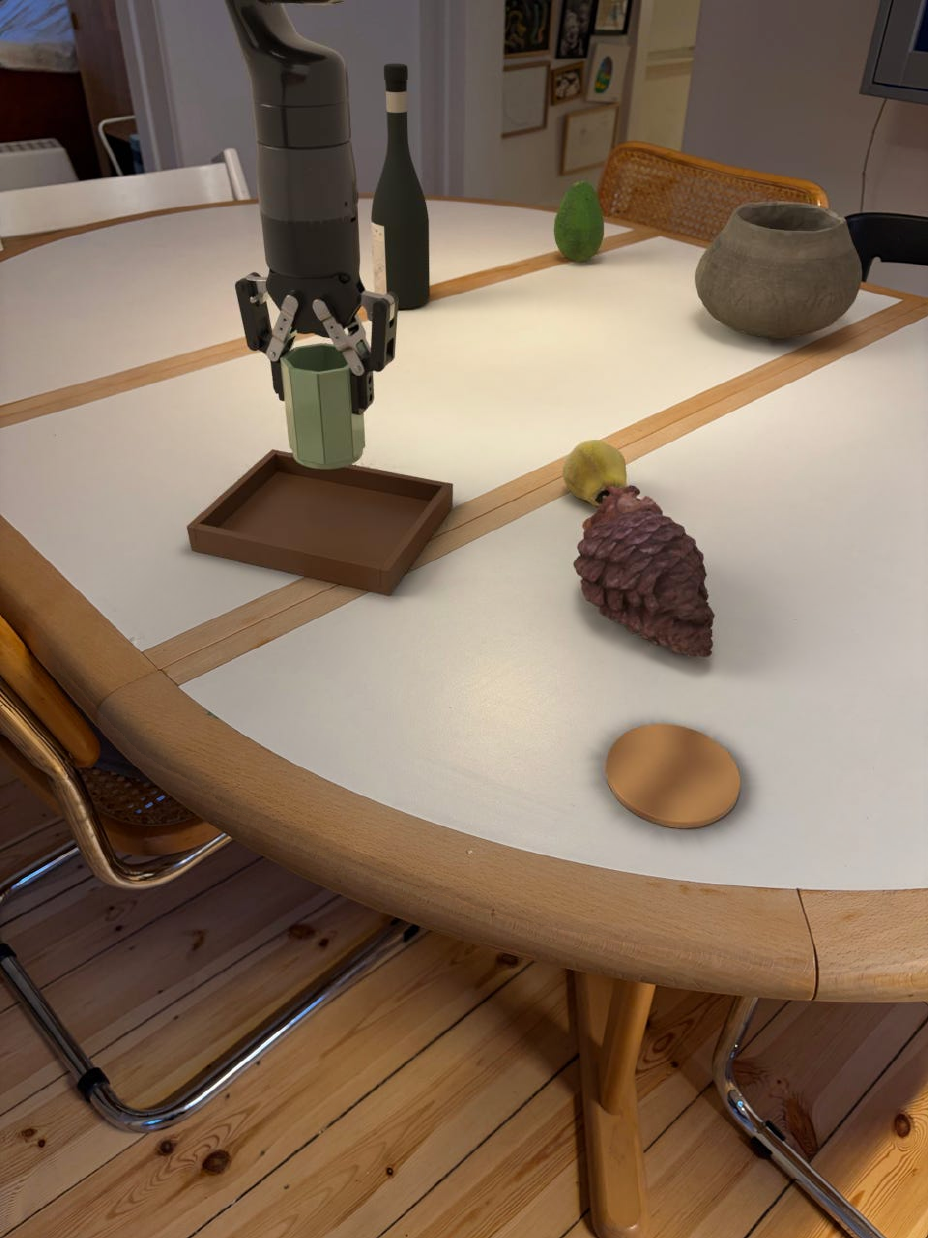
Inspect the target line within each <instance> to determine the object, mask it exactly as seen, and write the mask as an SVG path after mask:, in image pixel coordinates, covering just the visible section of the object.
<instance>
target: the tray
mask: <svg viewBox="0 0 928 1238" xmlns="http://www.w3.org/2000/svg"><path fill="white" fill-rule="evenodd" d="M453 507H454V483H452V482H447V481H446V482H445V481H440V480H435V479H430V478H425V477H419V476H414V475H410V474H409V475H408V474H403V473H398V472H393V471H387V470H382V469H377V468H372V467H368V466H362V465H356V464H351V465H348V466H345V467H341V468H336V469H314V468H309V467H306V466H303V465H301V464H299V463H298V462H297V461H296V460H295V459H294V457H293V454H292V452H288V451H283V450H278V449H274V448H272V449H270V450H269V451H268V452H267V453H266V454H265V455H264V456H263V457H262V458H260V460H259V461H257V462H256V463H255V464H254V465H252V467H251V468H249V470H248V471H246V472H245V473H243V475H242V476H241V477H240V478H239V479H237V480H236V481H235V482H234V483H232V485H230V486H229V488H227V489H226V490H225V491H224V492H223V493H222V494H221V495H219V496H218V497H217V498H216V499H215V500H214V501H212V503H211V504H210V505H208V506H207V507H206V508H205V509H204V510H202V512H201V513H199V514H198V516H196V517H195V518H194V519H193V520H192V521H190V523H189V524H188V525H186V530H187V536H188V540H189V545H190V550H191V551H193V552H197V553H202V554H206V555H210V556H214V557H219V558H224V559H228V560H232V561H237V562H241V563H246V564H249V565H255V566H258V567H263V568H268V569H272V570H277V571H281V572H285V573H289V574H294V575H298V576H303V577H307V578H311V579H316V580H319V581H325V582H327V583H332V584H337V585H341V586H347V587H351V588H355V589H360V590H364V591H368V592H371V593H377V594H381V595H384V596H385V595H386V596H391V595H392V593H393V592H394V590H395V589H396V588H397V586H398V585H399V583H400V582H401V581H402V579H403V578H404V576H405V575H406V573H407V572H408V571H409V569H410V568H411V567H412V565H413V564H414V562H415V561H416V559H417V558H418V557H419V555H420V554H421V552H422V551H423V549H424V548H425V546H426V545H427V544H428V542H429V541H430V539H431V538H432V537H433V535H434V534H435V532H436V531H437V529H438V528H439V527H440V526H441V524H442V522H443V521H444V520H445V518H446V517H447V516H448V515H449V513H450V511H451V510H452V509H453Z"/></svg>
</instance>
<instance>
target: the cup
mask: <svg viewBox="0 0 928 1238" xmlns="http://www.w3.org/2000/svg"><path fill="white" fill-rule="evenodd" d="M280 361H281V371H282V380H283V390H284V399H285V401H284V408H285V419H286V426H287V435H288V445H289V449H290V450H291V453H292V454H293V457H294V459H295V460H296V461H297V462H298V463H299V464H301V465H303V466H306V467H309V468H314V469H336V468H341V467H345V466H348V465H351V464H352V465H354V463H356V462H358V461H359V460H360V459H361V458H362V456H363V455H364V450H365V448H366V433H365V414H364V413H365V412H364V413H363V414H362V415H356V414H353V413H352V406H351V389H350V375H351V374H352V373H353V372H352V371H351V369H350V367H349V365H348V363H347V361H346V359H345V357H344V355H343V354H342V353H341V352H338V351H337V349H336V347H335V345H334V344H332V343H326V342H324V343H323V342H320V343H313V344H307V345H300V346H295V347H292V349H291V350H290V351H289V352H288V353H286V354H285V355H284V356H282V357H281V359H280Z"/></svg>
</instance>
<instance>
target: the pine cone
mask: <svg viewBox="0 0 928 1238" xmlns="http://www.w3.org/2000/svg"><path fill="white" fill-rule="evenodd" d="M605 489H606V490H608V491H609V493H610V495H609V496H608V497H605V498H604V499H603V504H602V505H600V506H599V505H597V506H598V507H597V509H596V511H595V512H594V514H593V515H591V516H589V517H587V518H586V519H585V520H584V521H583V522H582V525H581V527H582V529H583V535H582V536H583V537H582V539H581V540H580V541H579V542H578V543H577V546H576V549H577V551H578V554H579V555H578V556H577V557H576V559H575V560H574V561H573V563H572V565H573V568H574V569H575V572H576V574H577V575H578V576H579V577H580V578H581V579H580V581H579V583H580V585H581V586H580V590H581V592H582V595H583V597H584V599H585V600H586V601H587V602H589V603H591V604H592V605H593V606H594V607H598V610H599V614H600V615H601V616H603V617H604V618H608V619H609V620H616V621H617V623H618V624H620V625H624V626H625V627H626V628H627V630H628V631H629V632H630V633H631V634H639V635H640V636H641V638H643V639H645V640H649V641H650V642H651V643H652V644H653V645H655V646H656V647H662V646H666V647H668V648H669V649H670V651H674V652H675V653H677V654H680V653H681V654H685V655H687V656H689V657H691V658H696V657H703V658H709V657H711V656H712V654H713V650H712V649H713V647H714V642H713V639H712V638H713V637H714V635H713V629H712V627H713V625H714V618H715V617H716V615H715V613H714V611H713V610H712V608H711V607H710V604H709V602H708V600H709V597H710V595H709V593H708V589H707V587H706V585H705V581H706V578H707V576H708V574H707V572H706V566H705V564H704V560H705V558H704V557H705V556H704V553H703V552H702V551H701V550H700V549H699V548H698V546H697V541H696V539H695V538H694V537H692V536H691V535H689V534H687V533H686V529H685V526H683V525H682V524H679V523H677V522H676V521H674V520H673V519H672V518H671V517H670V516H667V515H664V511H663V510H662V508H661V506H660V505H658V503H657V502H656V501H655V500H654V499H653V498H651V497H650V496H647V495H644V496H643V498H642V499H640V498H638V496H640V494H641V490H640V489H639V488H638V487H637V486H636V485H632V484H631V485H627V487H623V488H620V489H618V488H615V487H613V486H610V485H606V487H605Z"/></svg>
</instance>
